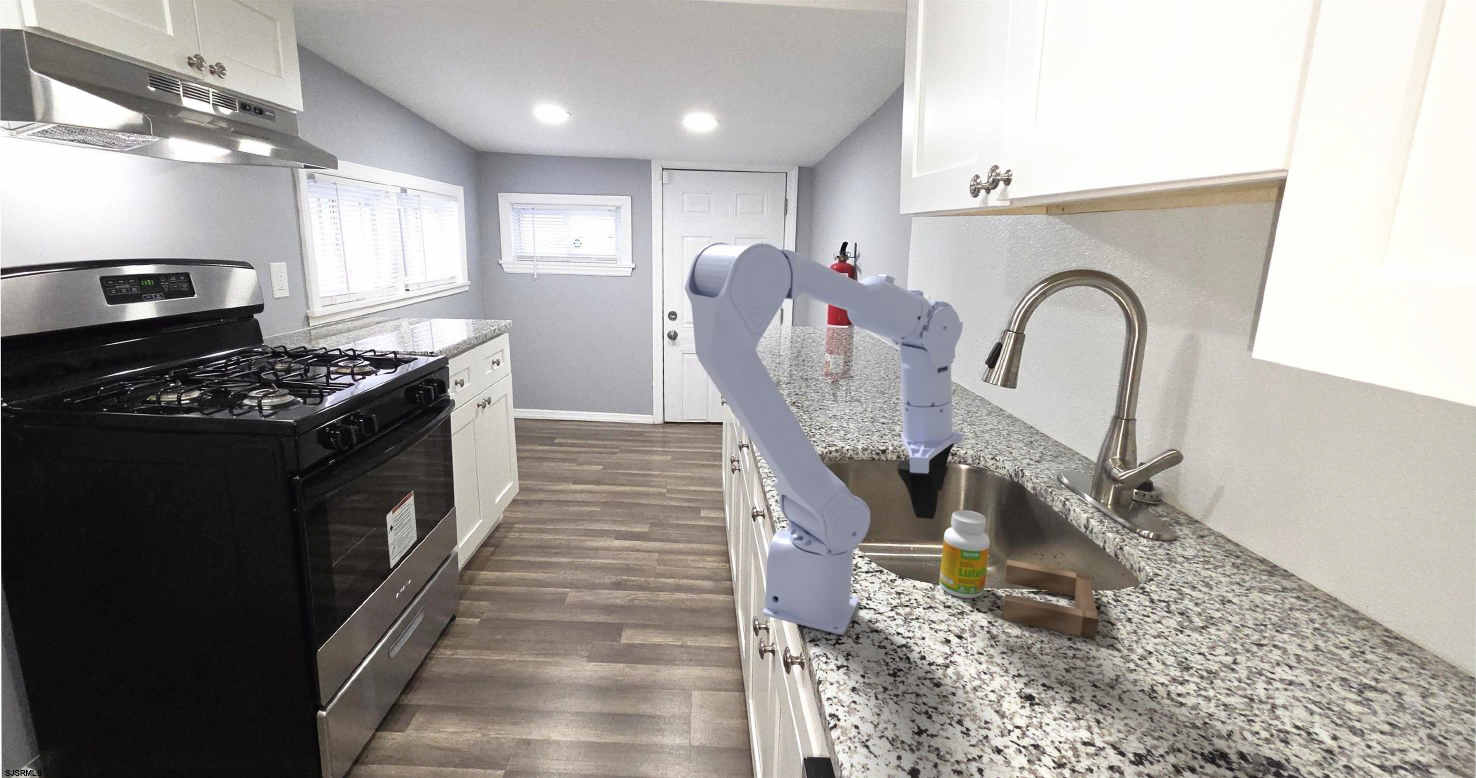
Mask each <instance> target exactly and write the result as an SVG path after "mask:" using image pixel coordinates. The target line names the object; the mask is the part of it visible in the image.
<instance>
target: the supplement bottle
mask: <svg viewBox="0 0 1476 778" xmlns="http://www.w3.org/2000/svg"><path fill="white" fill-rule="evenodd" d="M950 523H951V526H950V527H949V528H947V529H946V530H945V531H944V533H943V534H944V535H943V541H942V542H943V543H942V553H941V561H940V562H941V563H940V569H939V570H940V571H939V586H940V587H941V589H942V590H943V591H944V592H946V593H948V594H950V595H952V596H954V597H958V598H963V599H975V598H978V597H980V596H982V595H983V593H984V592H985V586H986V578H987V577H986V576H987V569H988V560H989V553H990V544H991V543H990V542H991V541H990V537H989V536H988V534H987V533H986V532H985V531H986V527H987V526H986V525H987V518H986V516H985V515H983V514H982V513H979V512H976V511H972V510H967V509H966V510H965V509H964V510H963V509H962V510H961V509H959V510H955V511H953V512H952V515H951V519H950Z"/></svg>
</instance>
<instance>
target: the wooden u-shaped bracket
mask: <svg viewBox="0 0 1476 778" xmlns="http://www.w3.org/2000/svg"><path fill="white" fill-rule="evenodd" d="M1004 583H1006V584H1012V585H1017V586H1021V587H1026V588H1030V589H1036V590H1041V591H1046V592H1050V593H1056V594H1061V595H1065V596H1071V597H1073V601H1074V607H1071V606H1065V605H1062V604H1061V605H1060V604H1057V603H1052V602H1048V601H1042V600H1037V599H1032V598H1029V597H1028V598H1027V597H1023V596H1018V595H1014V594H1009V593H1005V594H1004V595H1005V596H1004V602H1003V611H1002V612H1003V613H1002V620H1005V621H1007V622H1012V623H1017V624H1021V625H1027V626H1031V627H1035V628H1040V629H1044V630H1048V631H1053V632H1057V633H1062V634H1067V635H1071V636H1074V637H1075V636H1076V637H1080V638H1085V639H1089V640H1094V641H1096V638H1097V632H1098V631H1097V630H1098V627H1099V626H1098V625H1099V616H1098V610H1097V606H1096V601H1095V597H1094V593H1093V587H1092V584H1091V578H1090V575H1089V574H1085V573H1080V572H1074V571H1069V570H1064V569H1059V568H1052V567H1049V566H1042V565H1037V564H1031V563H1027V562H1022V561H1017V560H1011V559H1006V563H1005V571H1004Z"/></svg>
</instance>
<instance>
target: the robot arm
mask: <svg viewBox="0 0 1476 778" xmlns="http://www.w3.org/2000/svg"><path fill="white" fill-rule="evenodd" d="M895 280H896V279H895V277H894V276H890V275H888V274H878V275H877V276H875V275H874V276H867V277H865V278H863V279H861V280H860V281H857V280H856V279H854V278H851V277H849V276H847V275H844V274H843V273H841V272H838V271H837V270H834V269H832V268H830V267H828V266H826V265H824V264H822V263H820V262H817V261H816V260H813V259H812V258H809V257H807V256H805V255H803V254H800V253H798V252H797V251H794V250H789V249H784V248H777V247H776V246H775V245H772V244H770V243H763V242H759V243H757V242H756V243H753V244H730V243H726V242H719V241H718V242H713V243H710V244H707V245H705V246H704V247H702V248H701V249H700V250H699V251H698V252H697V253H696V254H695V256H694V258H693V261H691V265H690V269H689V272H688V276H687V279H686V282H685V285H684V290H685V292H686V295H687V297H688V300H689V301H690V302H689V303H690V304H691V306H690V307H691V313H692V316H691V317H692V325H693V334H694V335H693V337H694V346H695V347H694V348H695V354H696V357H697V359H698V362H699V363H700V364H701V366H702V367H703V369H704V371H705V372H706V373H707V375H708V376H709V378H710V379H711V381H712V383H713V384H714V386H715V387H716V389H717V390H718V392H719V393H720V395H721V396H722V398H723V399H724V401H725V402H726V405H728V407H729V408H730V410H731V412H732V413H733V414H734V416H735V418H736V419H737V420H738V422H739V423H740V425H741V426H742V428H743V430H744V431H745V433H746V434H747V436H748V437H749V439H750V441H751V442H752V444H753V445H754V447H755V448H756V449H757V452H758V453H759V454H760V456H761V457H762V459H763V460H764V462H765V463H766V465H767V466H768V468H769V469H770V471H771V472H772V474H773V476H774V477H775V480H774V482H773V484H772V485H773V487H774V489H775V490H776V493H777V495H778V497H779V498H778V499H779V508H780V512H781V513H782V515H783V517H784V518H785V519H786V520H787V521H788V528H787V529H788V530H777V531H776V532H775V534H774V535H773V537H772V539H771V542H770V544H769V549H768V553H767V558H766V578H765V600H764V601H765V603H764V608H763V610H762V615H763V616H765V617H768V618H772V619H776V620H781V621H785V622H787V623H792V624H796V625H800V626H804V627H807V628H811V629H812V628H813V629H815V630H820V631H824V632H827V633H831V634H836V635H841V636H842V635H843V634H844V633H845V632H846V630H847V628H848V626H849V624H850V621H851V619H852V617H853V615H854V613H855V610H856V608H857V606H858V604H859V598H858V597H856V596H853V595H851V588H852V587H851V586H852V577H853V576H852V575H853V574H852V573H853V562H854V561H853V559H854V550H857V549H858V546H859V545H860V544H861V543H862V542H863V540H864V538H865V537H866V536H867V534H868V531H869V529H870V525H871V511H870V508H869V506H868V504H867V502H866V501H865V500H864V499H862V498H861V497H858V496H856V495H855V494H853V493H852V492H851V491H850V490H849V488H848V487H847V484H845V482H843V481H842V480H841V479H840V478H839V477H838V476H837V475H836V474H835V473H834V472H833V471H831V470H830V469H829V468H828V467H827V466H826V465H825V464H824V462H823V460H822V459H821V457H820V455H819V454H818V453H817V451H816V448H814V445H813V444H812V442H811V441H810V439H809V437H808V435H807V434H806V432H805V431H804V429H803V427H802V425H801V424H800V423H799V420H798V419H797V417H796V416H795V415H794V412H793V410H792V409H791V407H790V406H789V404H788V402H787V401H786V399H785V398H784V396H783V394H782V393H781V391H780V389H779V387H778V386H777V384H776V382H775V381H774V379H773V377H772V376H771V374H770V373H769V371H768V369H767V367H766V365H765V364H764V363H763V360H762V359H761V358H760V356H759V354H758V352H757V348H758V345H759V342H760V341H761V339H762V338H763V336H764V334H765V332H766V331H767V329H768V328H769V326H770V324H771V323H772V321H773V320H774V318H775V316H776V314H777V313H778V311H779V310H780V309H781V307H782V305H783V303H784V301H785V300H786V299H787V300H795V299H797V297H798V296H802V297H805V298H808V299H811V300H815V301H817V302H820V303H823V304H826V305H830V306H832V307H836V308H839V309H842V310H845V311H846V313H847V318H848V320H849V321H850V323H851V325H853V326H855V327H857V328H859V329H862V330H865V331H868V332H871V333H874V334H876V335H879V336H882V337H884V338H887V339H890V340H891V342H892V343H893V344H894V345H896V346H899V355H900V356H899V358H900V359H899V360H900V361H899V362H900V380H901V381H900V382H901V408H902V409H901V411H902V413H901V414H902V433H901V441H902V443H903V446H904V448H905V450H906V452H907V453H908V455H909V460H899V461H898V462H897V465H896V468H897V469H896V472H897V474H898V477H900V479H901V480H902V482H903V483H904V485H905V487H906V490H907V491H908V495H909V498H910V502H911V506H912V509H913V512H914V515H915V518H917V519H928V520H933V519H935V516H936V512H937V507H938V502H939V494H940V492H941V491H942V490H943V486H944V481H945V478H946V476H947V474H948V470H949V465H948V466H947V464H948V459H949V456H950V453H951V451H952V449H953V447H954V445H955V444H961V443H962V442H963V438H964V434H963V432H959V431H953V404H952V403H953V401H952V400H953V399H952V364H953V363H954V360H955V358H956V347H957V344H958V342H959V340H960V337H961V335H962V332H963V326H964V325H963V324H964V323H963V321H960V317H959V314H958V313H957V311H956V310H955V309H954V306H952V305H951V304H950V303H949V302H946V301H940V300H932V299H927V298H926V297H925V296H924V295H925V293H924V292H923V291H922V290H919V289H913V288H911V289H910V290H908V289H906V288H904V287H902V286H900V285H896V284H894V283H895Z"/></svg>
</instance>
